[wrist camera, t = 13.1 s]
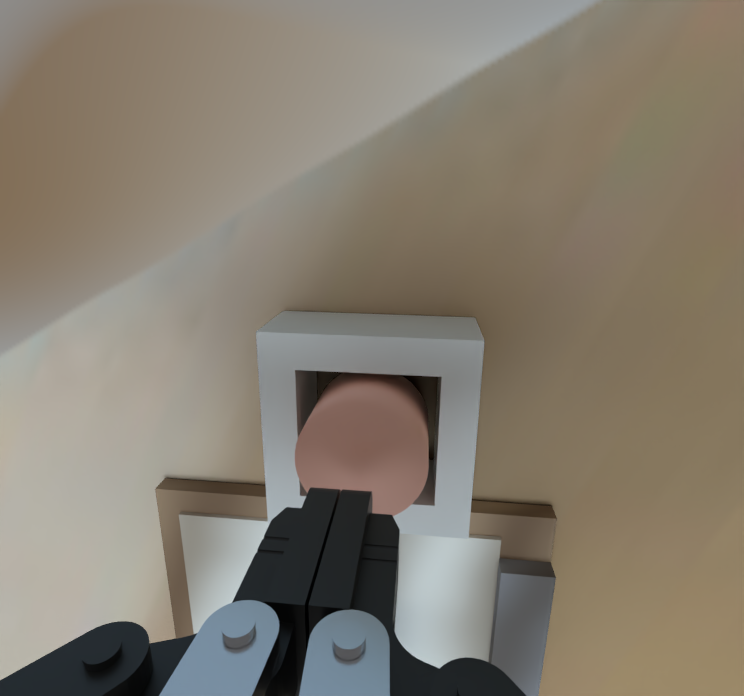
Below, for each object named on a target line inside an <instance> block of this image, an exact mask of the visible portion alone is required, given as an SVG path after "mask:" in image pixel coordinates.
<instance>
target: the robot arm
mask: <svg viewBox="0 0 744 696" xmlns="http://www.w3.org/2000/svg"><path fill="white" fill-rule="evenodd" d="M372 501H373V498H372V491H359V490H344V489H342V491H341V490H340V489H328V488H314V487H311V488H310V489H309V491H308V493H307V496H306V498H305V501H304V503H303V506H302V508H292V507H286V508H285V509H284V510H283V511H281V512H280V513H279V514H278V515H277V516H276V517H274V518H273V519H272V520H271V522H270V524H269V526H268V528H267V531H266V533H265V535H264V539H262V541H261V543H260V545H259V547H258V549H257V553H255V556H254V558H253V560H252V562H251V564H250V566H249V568H248V570H247V572H246V574H245V576H244V579H243V581H242V583H241V585H240V587H239V589H238V591H237V593H236V595H235V597H234V599H233V601H232V603H230V604H227V605H225V606H223V607H221V608H220V609H218V610H216V611H215V612H214V613H213V614H211V615H210V616H209V617H208V618H207V620H206V621H205V622H204V624H203V625H202V627H201V628H200V630H199V632H198V633H196V634H193V635H190V636H186V637H182V638H177V639H172V640H166V641H161V642H156V643H149V637H148V634H147V632H146V630H145V629H144V628H143V627H141V626H140V625H138V624H136V623H133V622H113V623H109V624H105V625H102V626H100V627H97V628H95V629H93V630H91V631H89V632H87V633H85V634H83V635H82V636H80V637H78V638H76V639H74V640H73V641H71V642H69V643H67V644H65V645H64V646H62V647H60V648H58V649H56V650H54V651H53V652H51V653H49V654H47V655H45V656H44V657H42V658H40V659H38V660H36V661H35V662H33V663H31V664H29V665H27V666H26V667H24V668H22V669H20V670H18V671H17V672H15V673H13V674H11V675H9V676H8V677H6V678H4V679H2V680H0V696H526V695H525V694H524V692H523V691H522V690H521V689H520V688H519V687H518V686H517V685H516V684H515V683H514V682H513V681H512V680H511V679H510V678H509V677H508V676H507V675H506V674H505V673H504V672H503V671H502V670H501V669H499V668H498V667H496V666H495V665H493V664H491V663H489V662H487V661H484V660H481V659H476V658H467V657H465V658H458V659H454V660H451V661H449V662H447V663H446V664H444V665H443V666H442V667H441V668H440V669H439V668H437V667H435V666H432V665H430V664H428V663H425V662H423V661H421V660H419V659H417V658H416V657H414V656H413V655H411V654H410V653H409V652H408V651H407V650H406V649H405V648H404V647H403V646H402V645H401V643H400V642H399V640H398V638H397V637H396V634H395V617H396V603H397V590H398V567H399V536H400V529H399V527H398V526H397V524H396V522H395V520H394V518H393V516H392V515H389V514H376V513H372Z"/></svg>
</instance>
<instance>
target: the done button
mask: <svg viewBox="0 0 744 696" xmlns="http://www.w3.org/2000/svg"><path fill="white" fill-rule="evenodd" d="M295 467H296V471H297V475H298V477H299V480H300V482H301V484H302V486H303V487H304V489H305V490H306V492H307V493H308V491H309V489H310V488H311V487H314V488H328V489H340V490H341V491H342V489H344V490H359V491H372V498H373V501H372V513H376V514H389V515H392V516H395V515H397V514H399V513H401V512H402V511H404V510H405V509H407V508H408V507H409V506H410V505H411V504H412V503H413V502H414V501H415V500H416V499H417V498H418V497H419V495H420V493H421V492H422V490H423V488H424V486H425V484H426V480H427V476H428V469H429V431H428V411H427V407H426V404H425V402H424V400H423V397H422V396H421V394H420V393H419V391H418V390H417V389H416V387H415V386H414V385H413V384H412V383H411V382H410V381H409V380H407V379H406V378H404V377H403V376H402V375H392V374H371V373H350V372H344V373H342V374H340V375H339V376H337V377H336V378H335V379H333V380H332V381H331V382H330V383H329V384H328V385H327V387H326V388H325V389H324V391H323V392H322V394H321V396H320V398H319V400H318V402H317V403H316V405H315V407H314V409H313V411H312V413H311V414H310V416H309V418H308V420H307V422H306V424H305V425H304V427H303V429H302V431H301V433H300V435H299V437H298V440H297V443H296V448H295Z"/></svg>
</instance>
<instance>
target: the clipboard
mask: <svg viewBox="0 0 744 696" xmlns="http://www.w3.org/2000/svg"><path fill="white" fill-rule="evenodd" d="M155 490H156V497H157V505H158V512H159V519H160V526H161V533H162V540H163V548H164V555H165V562H166V569H167V576H168V583H169V591H170V598H171V605H172V612H173V619H174V626H175V633H176V639H177V638H182V637H186V636H190V635H193V634H196V633H198V632H199V630H200V628H201V627H202V625H203V624H204V622H205V621H206V620H207V618H208V617H209V616H210V615H211V614H213V613H214V612H215V611H216V610H218V609H220V608H221V607H223V606H225V605H227V604H230V603H232V601H233V599H234V597H235V595H236V593H237V591H238V589H239V587H240V585H241V583H242V581H243V579H244V576H245V574H246V572H247V570H248V568H249V566H250V564H251V562H252V560H253V558H254V556H255V553H257V549H258V547H259V545H260V543H261V541H262V539H264V535H265V533H266V531H267V528H268V526H269V524H270V523H268V517H267V501H266V485H252V484H238V483H224V482H210V481H197V480H183V479H169V478H165V479H164V480H163V481H162V482H161V483H160V484H159V485H158V487H157V488H156V489H155ZM556 521H557V518H556V516H555V513H554V511H553V508H552V506H543V505H529V504H515V503H502V502H488V501H474V500H472V502H471V514H470V526H469V539H463V538H451V537H438V536H426V535H413V534H401V533H400V536H399V567H398V590H397V603H396V617H395V634H396V637H397V638H398V640H399V642H400V643H401V645H402V646H403V647H404V648H405V649H406V650H407V651H408V652H409V653H410V654H411V655H413V656H414V657H416V658H417V659H419V660H421V661H423V662H425V663H428V664H430V665H432V666H435V667H437V668H439V669H440V668H441V667H442V666H443V665H444V664H446V663H447V662H449V661H451V660H454V659H458V658H465V657H467V658H476V659H481V660H484V661H487V662H489V663H491V664H493V665H495V666H496V667H498V668H499V669H501V670H502V671H503V672H504V673H505V674H506V675H507V676H508V677H509V678H510V679H511V680H512V681H513V682H514V683H515V684H516V685H517V686H518V687H519V688H520V689H521V690H522V691H523V692H524V694H525V695H526V696H538V694H539V687H540V681H541V674H542V667H543V660H544V654H545V647H546V640H547V633H548V627H549V620H550V613H551V606H552V600H553V593H554V586H555V579H556V577H555V574H554V571H553V568H552V565H551V556H552V549H553V542H554V535H555V528H556Z"/></svg>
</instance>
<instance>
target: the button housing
mask: <svg viewBox="0 0 744 696" xmlns="http://www.w3.org/2000/svg"><path fill="white" fill-rule="evenodd" d="M256 342H257V358H258V374H259V390H260V406H261V421H262V437H263V453H264V469H265V485H266V501H267V517H268V523H270V522H271V520H272V519H273V518H274V517H276V516H277V515H278V514H279V513H280V512H281V511H283V510H284V509H285V508H286V507H292V508H302V506H303V503H304V501H305V498H306V496H307V492H306V490H305V489H304V487H303V486H302V484H301V482H300V480H299V477H298V475H297V471H296V467H295V448H296V443H297V440H298V437H299V435H300V433H301V431H302V429H303V427H304V425H305V424H306V422H307V420H308V418H309V416H310V414H311V413H312V411H313V409H314V407H315V405H316V403H317V372H316V371H328V372H350V373H371V374H392V375H413V376H435V377H438V385H437V404H436V423H435V442H434V460H429V469H428V476H427V480H426V484H425V486H424V488H423V490H422V492H421V493H420V495H419V497H418V498H417V499H416V500H415V501H414V502H413V503H412V504H411V505H410V506H409V507H408V508H407V509H405V510H404V511H402V512H401V513H399V514H397V515H395V516H393V518H394V520H395V522H396V524H397V526H398V527H399V529H400V533H401V534H413V535H426V536H438V537H451V538H463V539H469V526H470V514H471V502H472V489H473V477H474V465H475V452H476V440H477V428H478V415H479V403H480V391H481V378H482V366H483V354H484V338H483V336H482V333H481V331H480V328H479V326H478V323H477V321H476V318H475V317H449V316H420V315H391V314H362V313H333V312H304V311H282V312H281V313H280V314H278V315H277V316H276V317H274V318H273V319H272V320H271V321H269V322H268V323H267V324H265V325H264V326H263V327H262V328H260V329H259V330H258V331H256Z"/></svg>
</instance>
